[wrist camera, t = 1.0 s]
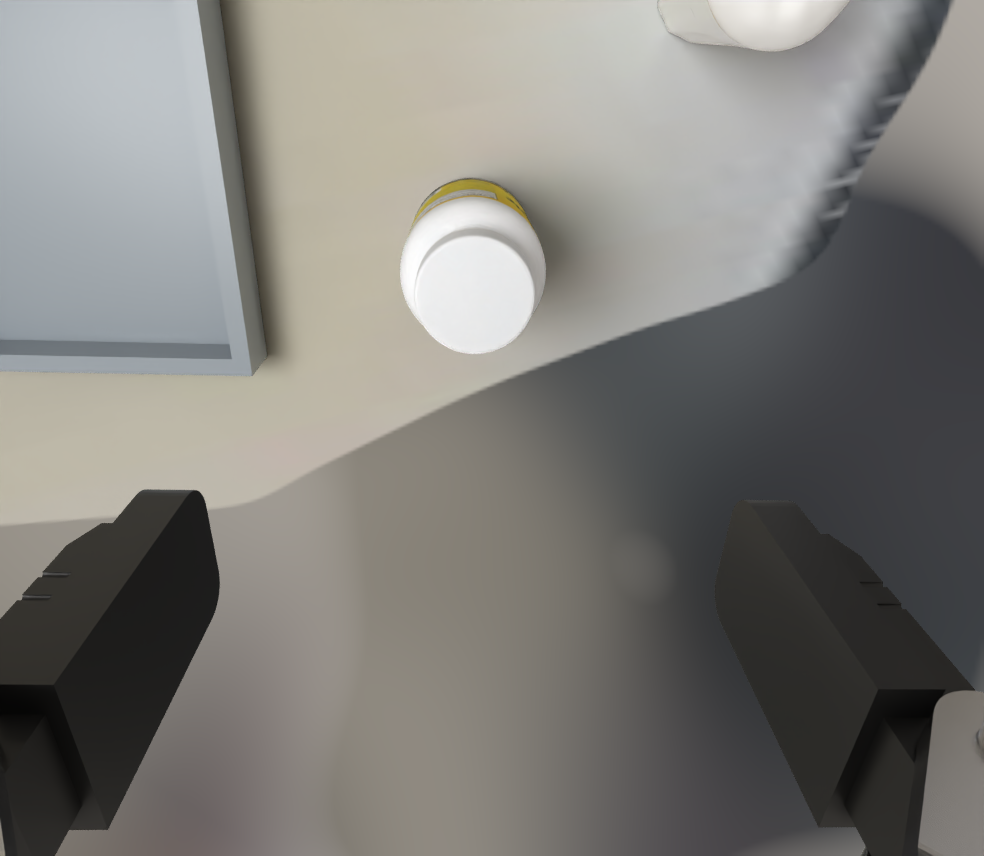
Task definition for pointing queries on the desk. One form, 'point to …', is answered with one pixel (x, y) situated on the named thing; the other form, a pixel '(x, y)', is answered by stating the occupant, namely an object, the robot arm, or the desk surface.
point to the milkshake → (749, 21)
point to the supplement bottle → (472, 266)
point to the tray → (122, 192)
